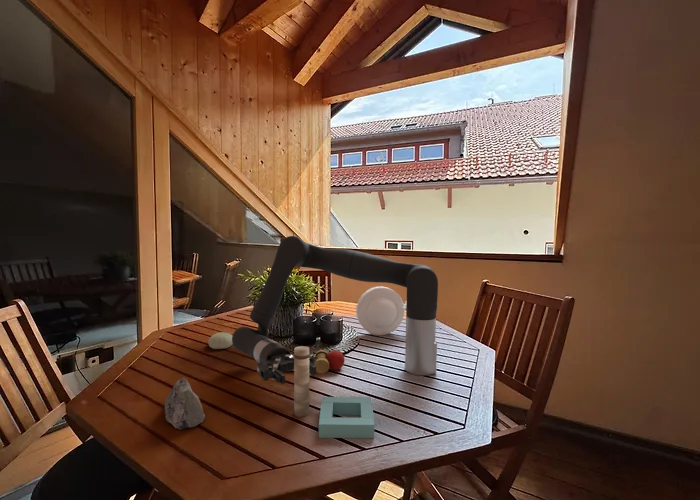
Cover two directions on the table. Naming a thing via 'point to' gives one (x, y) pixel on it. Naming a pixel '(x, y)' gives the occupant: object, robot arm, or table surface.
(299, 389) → the beige banded cylinder
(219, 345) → the sea urchin shell
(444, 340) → the table surface
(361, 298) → the tracked sphere vehicle
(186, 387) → the mineral rock
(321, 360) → the kendama
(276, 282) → the robot arm
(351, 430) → the teal square frame
